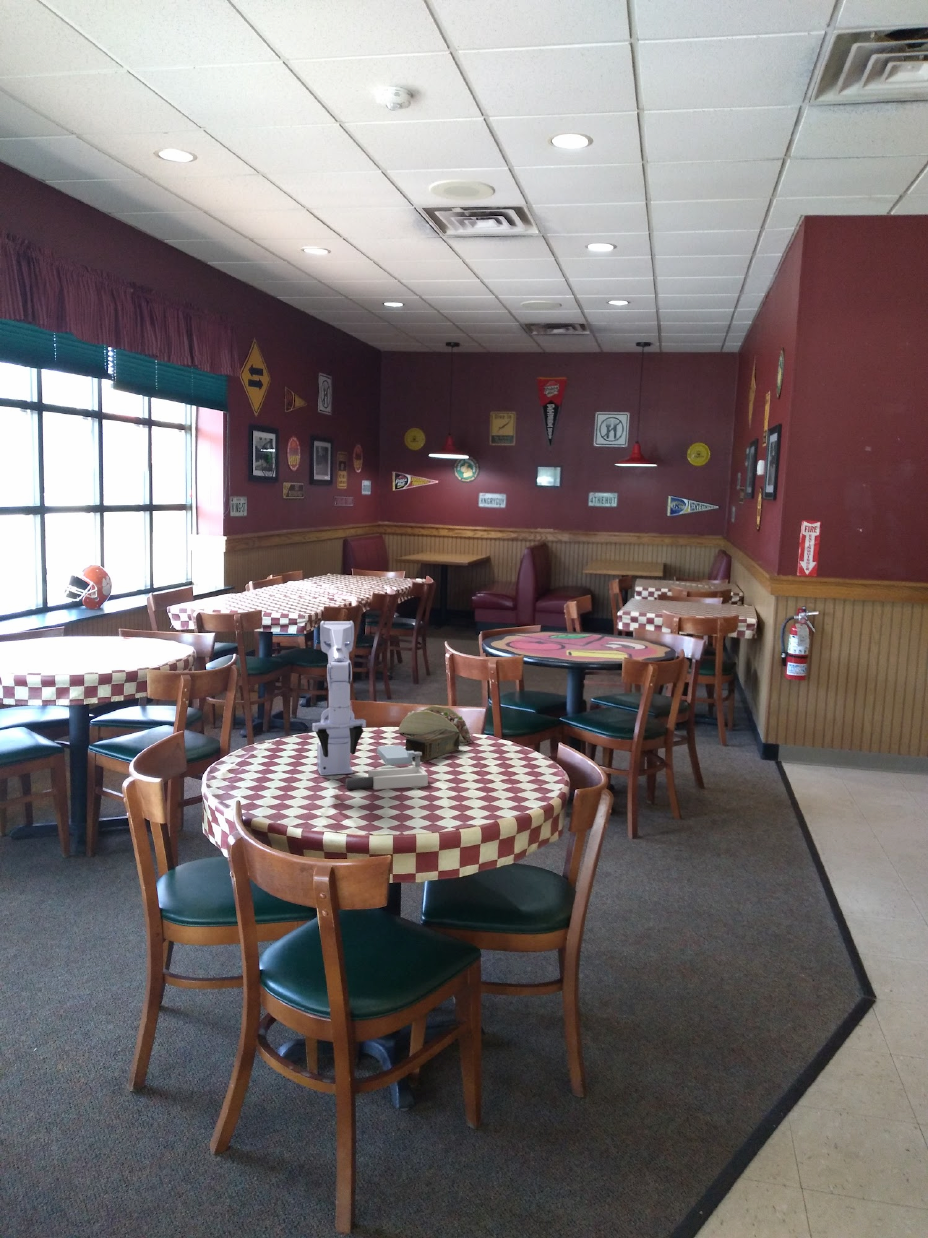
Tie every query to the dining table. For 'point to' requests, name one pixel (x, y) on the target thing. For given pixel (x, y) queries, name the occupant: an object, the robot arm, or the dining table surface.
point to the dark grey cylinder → (359, 783)
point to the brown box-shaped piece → (433, 743)
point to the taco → (434, 722)
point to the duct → (399, 777)
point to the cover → (396, 755)
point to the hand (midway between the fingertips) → (339, 755)
